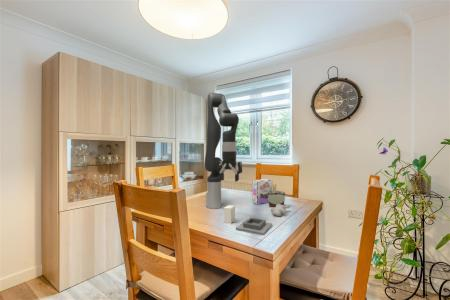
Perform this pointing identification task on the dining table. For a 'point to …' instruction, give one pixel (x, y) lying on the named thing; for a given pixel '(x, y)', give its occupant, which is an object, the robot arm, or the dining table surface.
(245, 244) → the dining table surface
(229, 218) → the plug
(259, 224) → the socket plate
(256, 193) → the candy box
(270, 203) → the food container
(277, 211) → the bunny figurine
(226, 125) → the robot arm
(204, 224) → the dining table surface
